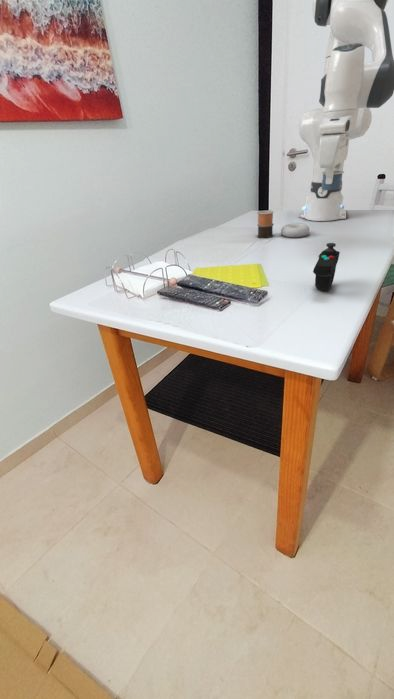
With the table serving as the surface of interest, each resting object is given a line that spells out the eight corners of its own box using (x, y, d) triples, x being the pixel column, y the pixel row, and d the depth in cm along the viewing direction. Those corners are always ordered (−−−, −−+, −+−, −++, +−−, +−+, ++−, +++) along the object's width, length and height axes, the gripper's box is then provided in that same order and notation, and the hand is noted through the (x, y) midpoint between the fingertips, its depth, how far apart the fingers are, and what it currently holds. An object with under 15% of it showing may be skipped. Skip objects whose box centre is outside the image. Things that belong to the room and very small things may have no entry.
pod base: (260, 233, 129) (260, 222, 127) (275, 234, 126) (275, 222, 124) (254, 237, 125) (255, 225, 123) (269, 238, 122) (270, 226, 120)
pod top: (322, 187, 101) (324, 171, 99) (343, 186, 98) (345, 170, 96) (318, 190, 97) (319, 173, 95) (339, 190, 94) (341, 173, 92)
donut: (281, 239, 121) (310, 238, 119) (281, 229, 119) (311, 228, 117) (280, 232, 129) (308, 231, 127) (281, 223, 127) (308, 221, 125)
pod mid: (260, 222, 127) (260, 210, 124) (275, 222, 124) (276, 210, 122) (254, 225, 123) (254, 213, 120) (270, 226, 120) (270, 213, 118)
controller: (336, 281, 84) (342, 241, 78) (328, 301, 75) (334, 257, 69) (318, 280, 85) (323, 240, 80) (308, 299, 76) (313, 255, 71)
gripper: (334, 124, 98) (328, 177, 105) (317, 126, 84) (311, 187, 91) (357, 122, 95) (349, 176, 103) (344, 124, 81) (335, 187, 88)
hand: (331, 182), depth 97 cm, fingers closed on pod top, 5 cm apart
